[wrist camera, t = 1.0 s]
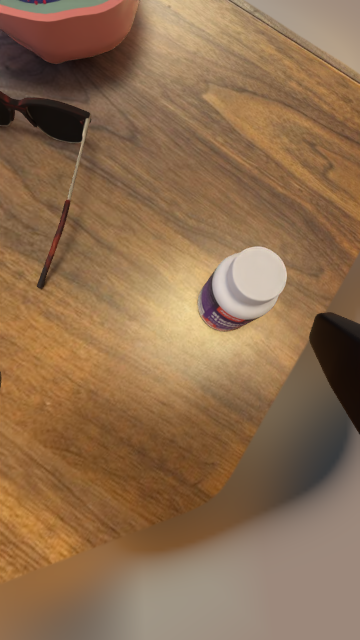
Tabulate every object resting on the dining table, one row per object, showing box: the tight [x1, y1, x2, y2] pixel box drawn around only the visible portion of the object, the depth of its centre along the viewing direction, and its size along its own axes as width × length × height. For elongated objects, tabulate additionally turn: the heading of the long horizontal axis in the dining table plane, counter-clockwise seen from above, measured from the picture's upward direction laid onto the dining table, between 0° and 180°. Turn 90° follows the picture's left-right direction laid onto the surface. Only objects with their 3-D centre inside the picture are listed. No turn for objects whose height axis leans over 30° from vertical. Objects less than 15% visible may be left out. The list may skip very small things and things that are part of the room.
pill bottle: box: [198, 247, 287, 331], centre depth 27 cm, size 5×5×10 cm
